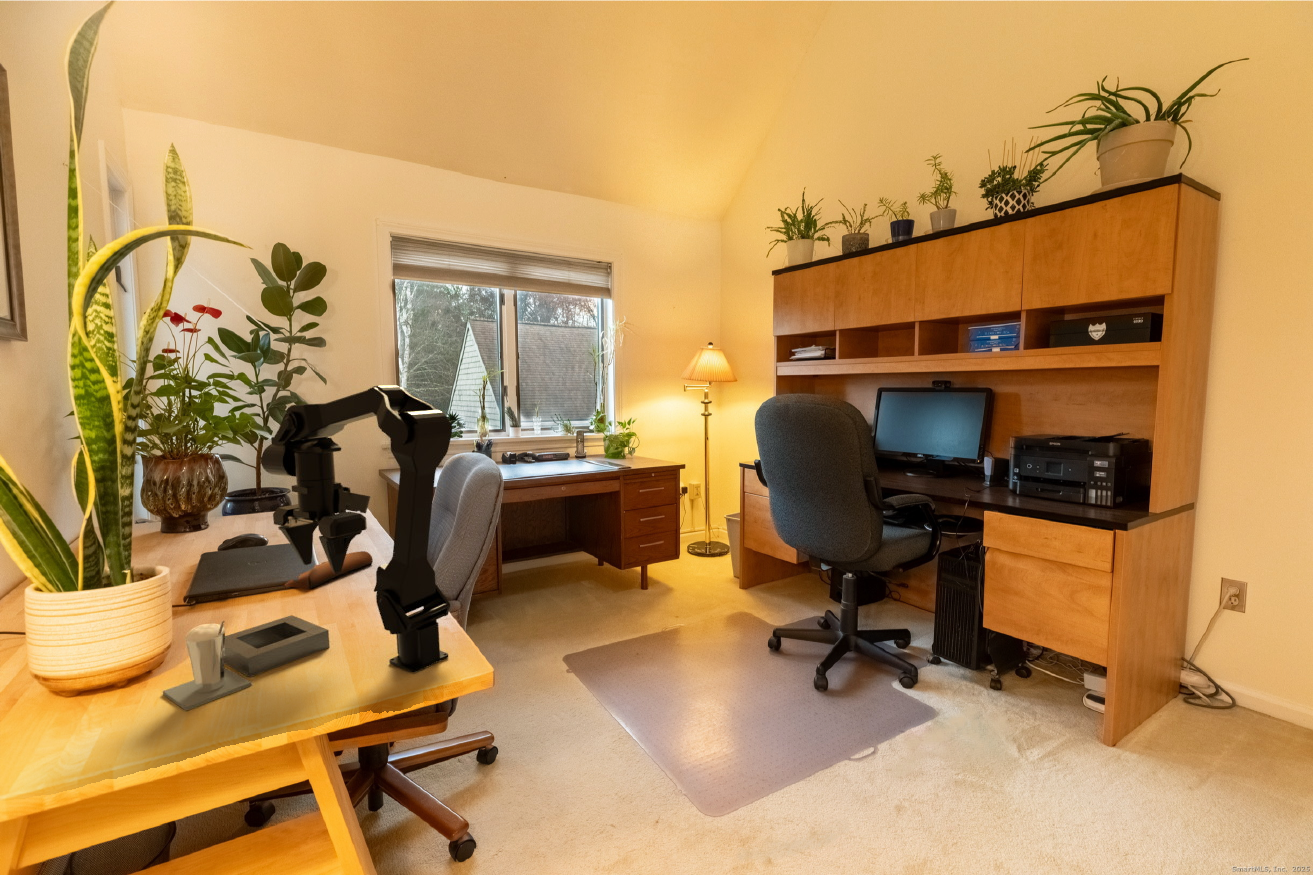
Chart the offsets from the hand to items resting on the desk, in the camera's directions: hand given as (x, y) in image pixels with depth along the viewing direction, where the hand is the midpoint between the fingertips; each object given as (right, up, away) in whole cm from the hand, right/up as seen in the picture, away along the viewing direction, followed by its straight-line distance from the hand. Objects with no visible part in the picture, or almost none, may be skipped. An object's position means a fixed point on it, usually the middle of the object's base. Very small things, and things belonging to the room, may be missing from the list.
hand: (322, 568), depth 105 cm
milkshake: (-6, -14, -17) cm, 23 cm away
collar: (-5, -13, -5) cm, 15 cm away
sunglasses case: (-17, -10, +35) cm, 40 cm away
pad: (-7, -14, -17) cm, 23 cm away
